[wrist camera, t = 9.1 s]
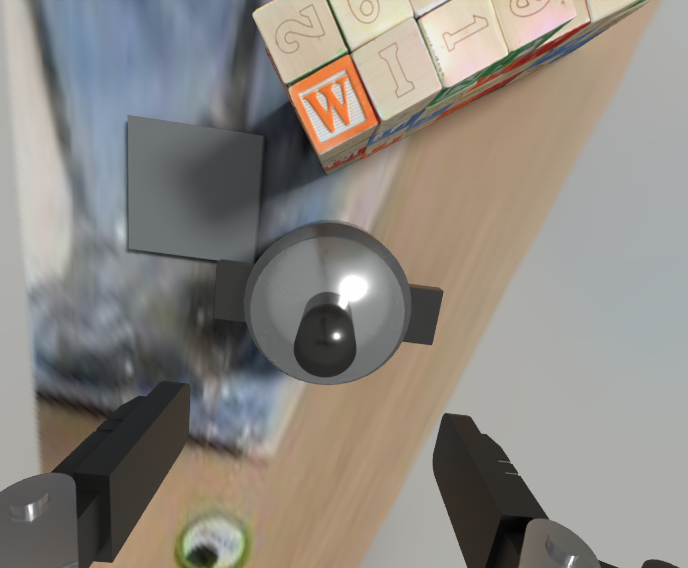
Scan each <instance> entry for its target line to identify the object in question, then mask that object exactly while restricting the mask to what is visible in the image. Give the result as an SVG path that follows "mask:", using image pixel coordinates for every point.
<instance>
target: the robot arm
mask: <svg viewBox="0 0 688 568" xmlns="http://www.w3.org/2000/svg"><path fill="white" fill-rule="evenodd" d="M189 415H190V386H189V384H186V383H177V382H168V381H162V382H160V383H159V384H158V385H157V386H156V387H155V388H154V389H153V390H152V391H151V392H150V393H149V394H148V396H147V397H145V396H138V397H136V398H134V399H133V400H131V401H129V402H127V403H125V404H123V405H121V406H120V407H119V408H118V409H117V410H116V411H115V412H114V413H113V414H112V415H111V416H110V417H109V418H108V420H107V421H104V422H103V423H102V424H101V425H100V426H99V427H98V428H97V430H96V432H93V433H92V434H91V435H90V436H89V437H88V438H86V439H85V440H84V441H83V442H82V443H81V444H80V445H79V446H78V447H77V448H76V449H75V450H74V451H73V452H72V453H71V454H70V455H69V456H68V457H66V458H65V459H64V460H63V461H62V462H61V463H60V464H59V465H58V466H57V467H56V468H55V469H54V470H53V471H52V472H51V473H45V474H40V475H36V476H32V477H29V478H27V479H24V480H22V481H19V482H17V483H15V484H13V485H11V486H9V487H7V488H6V489H4V490H3V491H1V492H0V568H89V567H90V565H91V564H92V562H93V561H97V562H110V563H112V562H113V561H114V559H115V558H116V556H117V554H118V553H119V551H120V550H121V548H122V546H123V545H124V543H125V541H126V540H127V538H128V537H129V535H130V533H131V532H132V530H133V529H134V527H135V525H136V524H137V522H138V520H139V519H140V517H141V516H142V514H143V512H144V511H145V509H146V508H147V506H148V504H149V503H150V501H151V499H152V498H153V496H154V495H155V493H156V491H157V490H158V488H159V486H160V485H161V483H162V482H163V480H164V478H165V477H166V475H167V474H168V472H169V470H170V469H171V467H172V465H173V464H174V462H175V461H176V459H177V457H178V456H179V454H180V453H181V451H182V449H183V447H184V445H185V442H186V439H187V436H188V431H189ZM433 471H434V476H435V479H436V481H437V484H438V487H439V490H440V492H441V495H442V498H443V501H444V504H445V507H446V509H447V512H448V515H449V518H450V520H451V523H452V526H453V529H454V532H455V534H456V537H457V540H458V543H459V546H460V548H461V551H462V554H463V557H464V560H465V562H466V565H467V568H618V567H615V566H612V565H610V564H607V563H605V562H602V561H600V560H598V559H597V557H596V555H595V554H594V553H593V551H592V550H591V549H590V547H589V546H588V545H587V544H586V543H585V542H584V541H583V540H582V539H581V538H580V537H579V536H578V535H576V534H575V533H574V532H572V531H571V530H570V529H568V528H566V527H564V526H563V525H561V524H559V523H557V522H554V521H551V520H549V518H548V517H547V515H546V514H545V512H544V511H543V509H542V508H541V506H540V505H539V503H538V502H537V500H536V499H535V497H534V496H533V494H532V493H531V491H530V490H529V488H528V487H527V485H526V484H525V482H524V481H523V479H522V478H521V476H518V472H517V470H516V469H515V468H514V466H513V464H510V460H509V458H508V457H507V455H506V454H505V452H504V451H503V449H502V448H501V447H500V446H499V445H498V444H497V443H495V441H493V440H492V439H491V438H490V437H489V436H488V435H487V434H481V433H480V431H479V430H478V428H477V426H476V425H475V423H474V421H473V420H472V418H471V417H470V416H466V415H458V414H449V413H445V414H444V415H443V417H442V420H441V424H440V428H439V432H438V436H437V440H436V444H435V448H434V453H433ZM641 568H678V567H677V566H674V565H672V564H670V563H667V562H664V561H660V560H653V559H652V560H647V561H645V562H644V564H643V566H642V567H641Z"/></svg>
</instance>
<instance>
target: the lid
mask: <svg viewBox="0 0 688 568" xmlns="http://www.w3.org/2000/svg"><path fill="white" fill-rule="evenodd" d="M250 316H251V324H252V328H253V331H254V335H255V337H256V339H257V342H258V344H259V345H260V347H261V349H262V350H263V352H264V353H265V354H266V356H267V357H268V358H269V359H270V360H271V361H272V362H273V363H274V364H275V365H276V366H277V367H279V368H280V369H281V370H282V371H284V372H286V373H287V374H289V375H291V376H293V377H295V378H298V379H300V380H303V381H307V382H310V383H316V384H340V383H345V382H349V381H352V380H356V379H358V378H360V377H363V376H365V375H366V374H368V373H370V372H371V371H373V370H374V369H376V368H377V367H378V366H379V365H381V364H382V363H383V362H384V361H385V360H386V359H387V357H388V356H389V355H390V354H391V352H392V351H393V349H394V348H395V346H396V344H397V342H398V340H399V337H400V335H401V332H402V328H403V324H404V316H405V306H404V299H403V294H402V291H401V287H400V285H399V283H398V281H397V278H396V277H395V275H394V273H393V272H392V270H391V269H390V268H389V266H388V265H387V264H386V263H385V262H384V260H383V259H382V258H381V257H380V256H379V255H377V254H376V253H375V252H374V251H373V250H371V249H370V248H368V247H367V246H365V245H363V244H361V243H359V242H357V241H354V240H351V239H348V238H344V237H339V236H317V237H312V238H307V239H304V240H301V241H299V242H297V243H294V244H292V245H290V246H289V247H287V248H286V249H284V250H283V251H281V252H280V253H279V254H278V255H277V256H276V257H275V258H273V259H272V260H271V261H270V262H269V264H268V265H267V266H266V267H265V268H264V270H263V271H262V273H261V274H260V276H259V278H258V280H257V282H256V284H255V287H254V290H253V293H252V298H251V305H250Z"/></svg>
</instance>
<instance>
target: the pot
mask: <svg viewBox="0 0 688 568" xmlns="http://www.w3.org/2000/svg"><path fill="white" fill-rule="evenodd" d="M317 236H339V237H344V238H348V239H351V240H354V241H357V242H359V243H361V244H363V245H365V246H367V247H368V248H370V249H371V250H373V251H374V252H375V253H376V254H377V255H379V256H380V257H381V258H382V259H383V260H384V262H385V263H386V264H387V265H388V266H389V268H390V269H391V270H392V272H393V273H394V275H395V277H396V278H397V281H398V283H399V285H400V287H401V291H402V294H403V299H404V306H405V316H404V324H403V328H402V332H401V335H400V337H399V340H398V342H397V344H396V346H395V348H394V349H393V351H392V352H391V354H390V355H389V356H388V357H387V359H386V360H385V361H384V362H383V363H382V364H381V365H379V366H378V367H377V368H376V369H374V370H373V371H371V372H370V373H368V374H366V375H365V376H367V375H369V374H371V373H372V372H374V371H376V370H377V369H378V368H380V367H381V366H382V365H384V364H385V363H386V362H387V361H388V360H389V359H390V358H391V357H392V356H393V354H394V353H395V352H396V350H397V349H398V348H399V346H400V344H401V343H402V342H410V343H418V344H426V345H432V343H433V339H434V334H435V329H436V325H437V320H438V315H439V311H440V306H441V301H442V297H443V292H444V291H443V290H441V289H440V288H437V287H429V286H422V285H414V284H408V281H407V278H406V276H405V274H404V271H403V269H402V267H401V266H400V264H399V263H398V261H397V259H396V258H395V257H394V256H393V255H392V253H391V252H390V251H389V250H388V249H387V248H386V247H385V246H383V245H382V244H381V243H380V242H379V241H378V240H377V239H375V238H374V237H373V236H372V235H371V234H370V233H368V232H367V231H365V230H364V229H362V228H360V227H358V226H356V225H354V224H351V223H348V222H344V221H339V220H321V221H316V222H311V223H309V224H306V225H303V226H301V227H299V228H297V229H295V230H294V231H292V232H290V233H289V234H287V235H285V236H283V237H282V238H280V239H279V240H277V241H276V242H275V243H273V244H272V245H271V246H270V247H269V248H268V249H267V250H266V251H265V252H264V253H263V254H262V255H261V257H260V258H259V259H258V261H257V262H256V264H255V263H247V262H239V261H232V260H224V259H221V260H219V261H217V268H216V287H215V306H214V319H222V320H231V321H239V322H246V324H247V327H248V331H249V333H250V335H251V338H252V340H253V342H254V343H255V345H256V347H257V348H258V350H259V351H260V352H261V353H262V355H263V356H264V357H265V358H266V359H267V360H268V361H269V362H270V363H271V364H272V365H274V366H275V367H276V368H277V369H279V370H280V371H282V370H281V369H280V368H279V367H277V366H276V365H275V364H274V363H273V362H272V361H271V360H270V359H269V358H268V357H267V356H266V354H265V353H264V352H263V350H262V349H261V347H260V345H259V344H258V342H257V339H256V337H255V335H254V331H253V328H252V324H251V316H250V305H251V298H252V293H253V290H254V287H255V284H256V282H257V280H258V278H259V276H260V274H261V273H262V271H263V270H264V268H265V267H266V266H267V265H268V264H269V262H270V261H271V260H272V259H273V258H275V257H276V256H277V255H278V254H279V253H280V252H281V251H283V250H284V249H286V248H287V247H289V246H290V245H292V244H294V243H297V242H299V241H301V240H304V239H307V238H312V237H317ZM282 372H284V371H282ZM284 373H285V374H287V373H286V372H284ZM287 375H289V374H287ZM289 376H291V375H289ZM365 376H363V377H365ZM291 377H293V376H291ZM363 377H360V378H363ZM293 378H295V377H293ZM360 378H358V379H360ZM296 379H298V378H296ZM358 379H356V380H358ZM298 380H300V379H298ZM301 381H303V380H301ZM352 381H355V380H352ZM352 381H349V382H352ZM304 382H307V381H304ZM308 383H310V382H308ZM345 383H348V382H345ZM314 384H316V383H314ZM340 384H343V383H340ZM322 385H334V384H322Z"/></svg>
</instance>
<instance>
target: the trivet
mask: <svg viewBox="0 0 688 568" xmlns="http://www.w3.org/2000/svg"><path fill="white" fill-rule="evenodd" d="M264 150H265V137H264V136H263V135H256V134H249V133H243V132H236V131H230V130H223V129H216V128H210V127H203V126H197V125H190V124H183V123H177V122H170V121H164V120H157V119H150V118H144V117H137V116H131V115H128V212H129V249H135V250H143V251H150V252H158V253H165V254H173V255H181V256H188V257H196V258H204V259H211V260H221V259H224V260H232V261H239V262H247V263H256V251H257V238H258V226H259V213H260V200H261V188H262V175H263V162H264Z"/></svg>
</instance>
